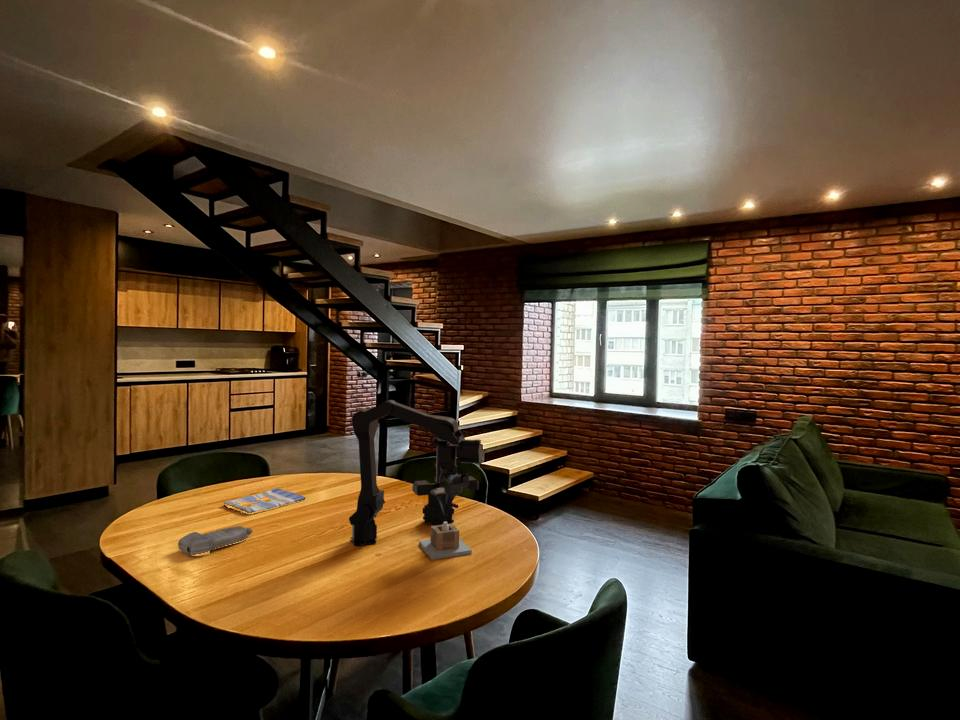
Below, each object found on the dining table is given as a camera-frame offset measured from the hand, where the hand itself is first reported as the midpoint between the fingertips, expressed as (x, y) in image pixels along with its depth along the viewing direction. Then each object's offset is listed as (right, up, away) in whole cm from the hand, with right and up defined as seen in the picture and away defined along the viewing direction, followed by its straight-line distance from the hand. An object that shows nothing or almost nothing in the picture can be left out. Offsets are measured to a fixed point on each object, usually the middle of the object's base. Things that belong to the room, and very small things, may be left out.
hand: (445, 514), depth 149 cm
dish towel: (-70, -9, +40) cm, 81 cm away
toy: (-2, -10, +20) cm, 22 cm away
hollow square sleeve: (0, -9, 0) cm, 9 cm away
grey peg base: (0, -10, 0) cm, 10 cm away
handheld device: (-66, -9, 0) cm, 67 cm away
